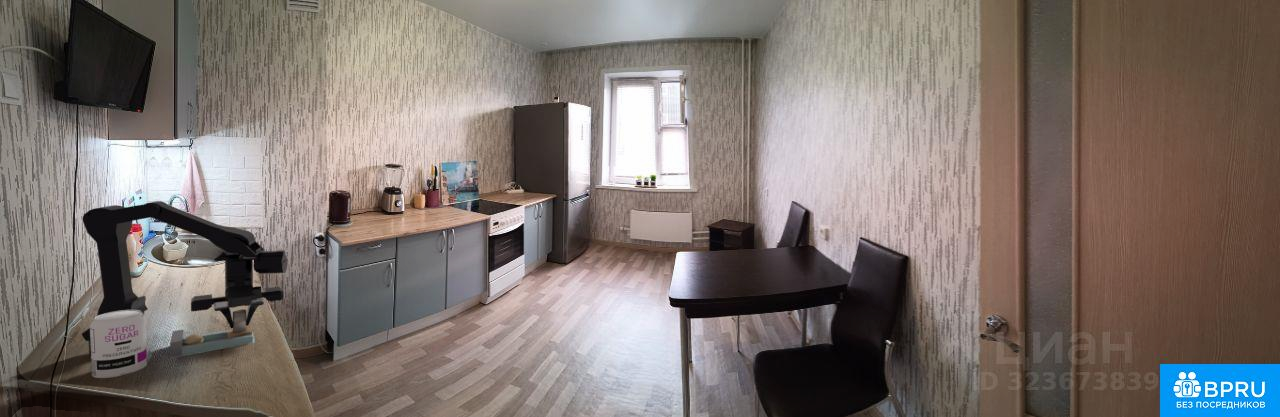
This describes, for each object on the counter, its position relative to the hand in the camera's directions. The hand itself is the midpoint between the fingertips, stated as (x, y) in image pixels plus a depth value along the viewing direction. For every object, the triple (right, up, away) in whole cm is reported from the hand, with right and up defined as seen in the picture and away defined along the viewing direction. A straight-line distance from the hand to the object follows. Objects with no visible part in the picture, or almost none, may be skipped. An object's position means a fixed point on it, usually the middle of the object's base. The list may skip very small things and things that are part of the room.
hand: (239, 326), depth 117 cm
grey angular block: (-9, -4, -8) cm, 13 cm away
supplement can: (-10, -6, -19) cm, 22 cm away
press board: (-4, -5, -3) cm, 7 cm away
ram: (0, -4, 0) cm, 4 cm away
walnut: (-7, -4, -6) cm, 10 cm away
